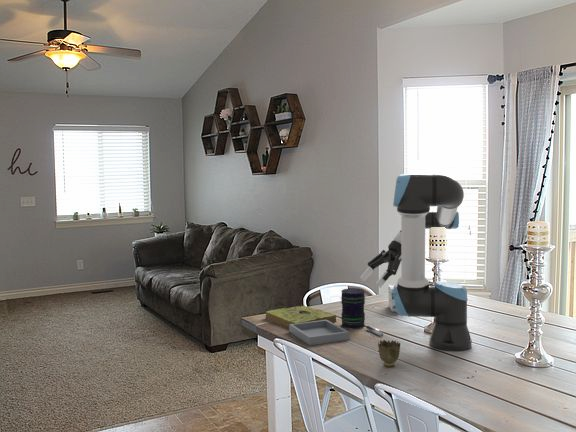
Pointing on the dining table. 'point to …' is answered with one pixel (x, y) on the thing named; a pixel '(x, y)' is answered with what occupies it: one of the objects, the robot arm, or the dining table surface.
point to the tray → (318, 332)
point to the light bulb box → (391, 298)
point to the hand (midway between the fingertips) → (369, 282)
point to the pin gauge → (374, 331)
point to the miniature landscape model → (298, 315)
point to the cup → (389, 352)
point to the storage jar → (353, 308)
